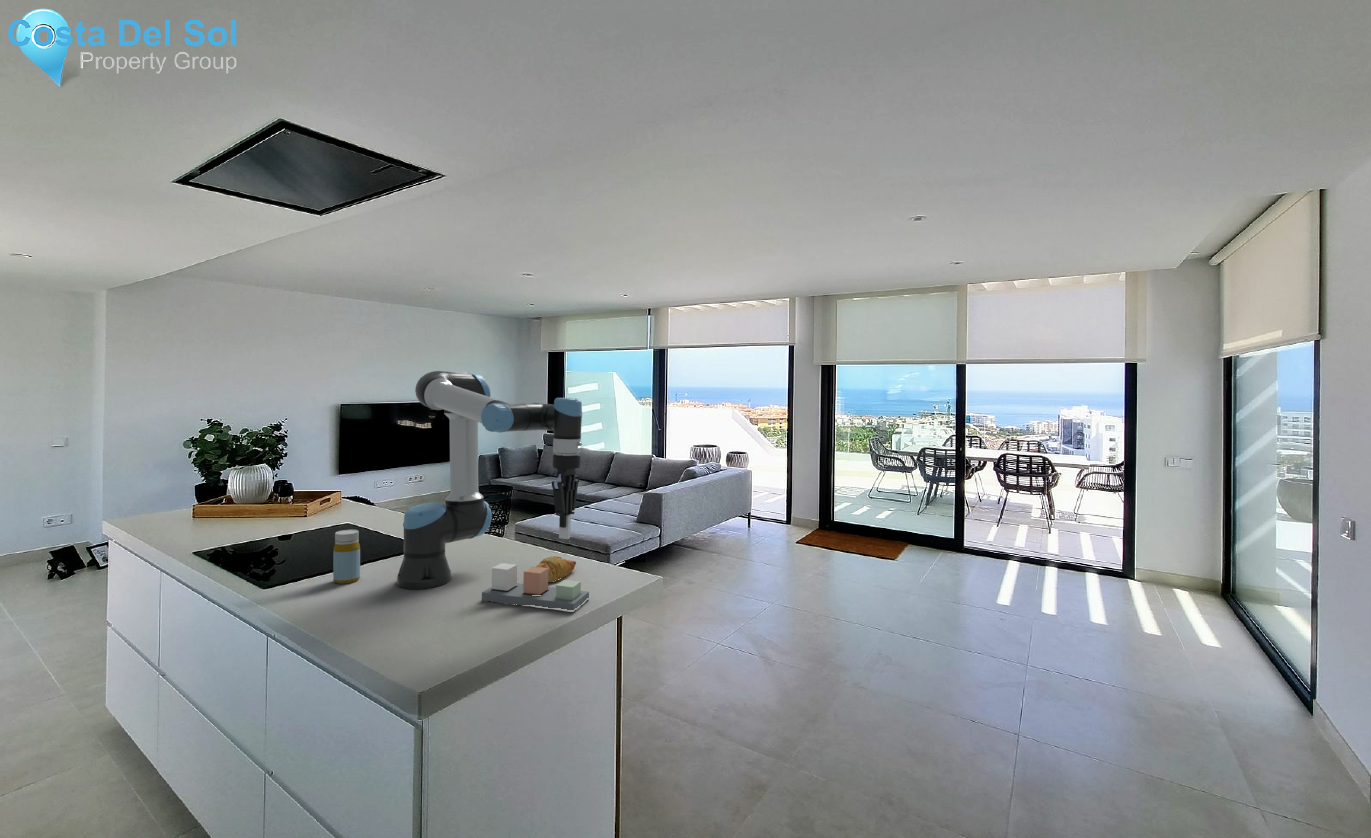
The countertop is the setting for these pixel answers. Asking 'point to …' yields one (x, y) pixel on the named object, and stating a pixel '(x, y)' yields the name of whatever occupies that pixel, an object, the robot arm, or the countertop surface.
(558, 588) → the key sage
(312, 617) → the countertop surface
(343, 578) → the bottle
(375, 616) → the countertop surface
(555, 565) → the croissant
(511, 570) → the key white
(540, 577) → the key terracotta
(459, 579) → the countertop surface
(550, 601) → the grey slotted tray
